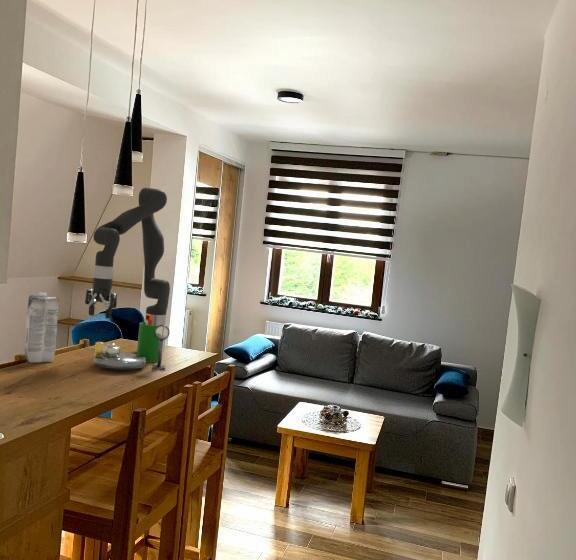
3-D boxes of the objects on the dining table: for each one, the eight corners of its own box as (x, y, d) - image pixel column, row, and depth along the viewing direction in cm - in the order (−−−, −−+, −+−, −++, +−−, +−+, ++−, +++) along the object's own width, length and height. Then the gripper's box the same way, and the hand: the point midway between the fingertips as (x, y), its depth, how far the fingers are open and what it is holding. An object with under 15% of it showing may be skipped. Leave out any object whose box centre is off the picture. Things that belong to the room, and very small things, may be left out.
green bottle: (162, 359, 272) (166, 314, 271) (156, 363, 263) (160, 316, 262) (140, 356, 273) (143, 311, 272) (132, 360, 264) (136, 313, 263)
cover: (110, 352, 256) (111, 341, 256) (123, 355, 253) (124, 344, 253) (97, 354, 250) (98, 343, 249) (111, 358, 247) (112, 346, 246)
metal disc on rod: (151, 366, 256) (155, 323, 255) (166, 367, 257) (170, 324, 256) (151, 369, 251) (154, 325, 250) (166, 370, 252) (170, 326, 251)
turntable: (138, 358, 263) (139, 338, 262) (151, 368, 245) (153, 347, 245) (89, 358, 253) (90, 337, 253) (99, 369, 236) (100, 347, 235)
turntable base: (118, 363, 256) (118, 360, 256) (137, 367, 252) (137, 365, 252) (100, 366, 247) (101, 363, 247) (120, 371, 243) (120, 368, 243)
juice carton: (55, 362, 246) (60, 294, 245) (27, 363, 240) (32, 294, 239) (49, 358, 254) (54, 292, 252) (22, 358, 248) (27, 291, 246)
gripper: (123, 279, 253) (119, 318, 254) (96, 275, 259) (92, 313, 260) (110, 279, 246) (106, 319, 247) (82, 275, 252) (79, 314, 253)
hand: (99, 316), depth 254 cm, fingers open, 8 cm apart
